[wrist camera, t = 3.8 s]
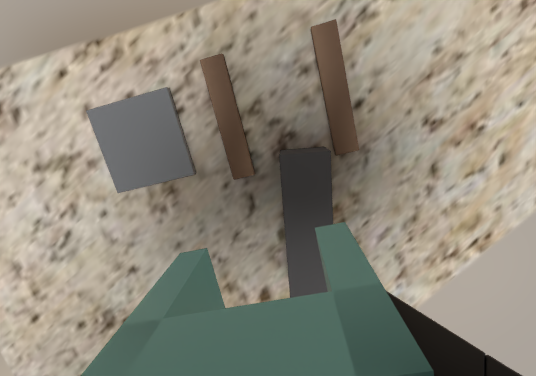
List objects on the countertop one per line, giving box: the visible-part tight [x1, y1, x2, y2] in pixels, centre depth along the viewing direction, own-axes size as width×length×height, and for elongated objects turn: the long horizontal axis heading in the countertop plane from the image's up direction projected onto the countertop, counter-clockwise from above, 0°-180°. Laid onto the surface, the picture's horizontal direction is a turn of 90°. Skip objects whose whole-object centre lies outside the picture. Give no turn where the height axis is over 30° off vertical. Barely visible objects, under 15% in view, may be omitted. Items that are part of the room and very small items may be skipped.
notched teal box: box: [81, 222, 434, 376], centre depth 7 cm, size 6×4×6 cm
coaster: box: [86, 87, 196, 193], centre depth 19 cm, size 6×6×1 cm
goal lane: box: [200, 20, 359, 179], centre depth 18 cm, size 9×8×1 cm
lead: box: [279, 147, 333, 298], centre depth 18 cm, size 3×10×3 cm, turn 5°
